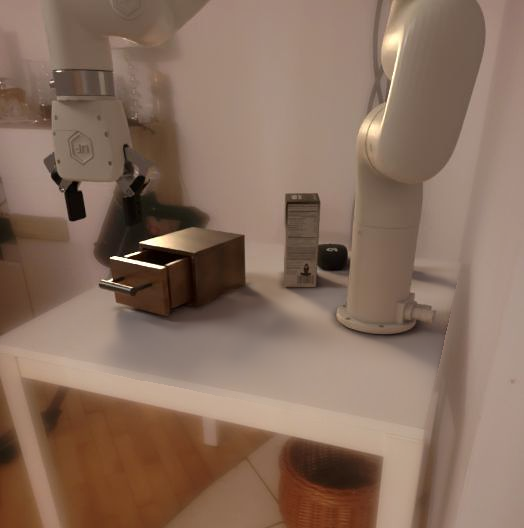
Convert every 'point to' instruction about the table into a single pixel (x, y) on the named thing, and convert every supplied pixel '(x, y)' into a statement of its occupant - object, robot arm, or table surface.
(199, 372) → the table surface
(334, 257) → the computer mouse
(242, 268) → the cabinet
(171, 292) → the drawer
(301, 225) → the coffee box
